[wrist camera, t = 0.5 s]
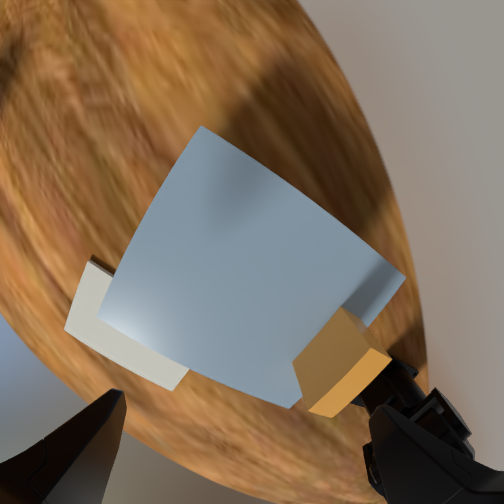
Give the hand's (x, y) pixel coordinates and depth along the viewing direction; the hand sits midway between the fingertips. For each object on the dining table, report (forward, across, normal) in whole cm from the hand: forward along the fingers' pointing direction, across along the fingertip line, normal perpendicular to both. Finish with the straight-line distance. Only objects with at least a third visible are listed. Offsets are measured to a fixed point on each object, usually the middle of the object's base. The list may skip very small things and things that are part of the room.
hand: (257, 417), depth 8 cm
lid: (+7, 0, -2) cm, 8 cm away
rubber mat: (+12, +8, +6) cm, 16 cm away
